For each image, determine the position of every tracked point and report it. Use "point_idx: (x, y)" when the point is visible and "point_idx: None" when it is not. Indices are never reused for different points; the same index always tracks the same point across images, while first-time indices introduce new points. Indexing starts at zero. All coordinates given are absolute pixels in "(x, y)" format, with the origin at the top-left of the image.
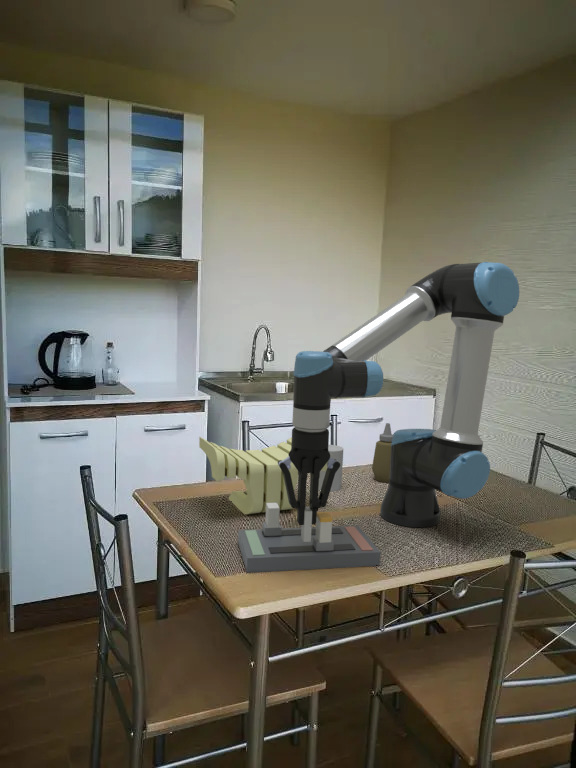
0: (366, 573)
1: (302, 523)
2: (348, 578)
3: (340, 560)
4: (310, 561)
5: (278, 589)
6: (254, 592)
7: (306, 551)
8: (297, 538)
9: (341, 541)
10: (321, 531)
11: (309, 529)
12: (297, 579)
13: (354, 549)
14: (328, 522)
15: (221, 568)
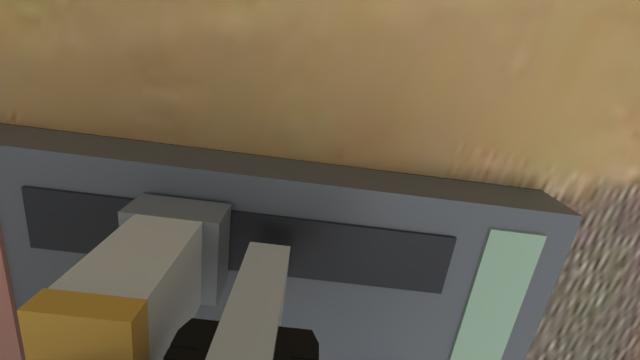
0: (39, 62)
1: (287, 336)
2: (136, 33)
3: (130, 150)
4: (275, 169)
5: (484, 7)
6: (597, 6)
7: (280, 217)
8: None
9: None
10: (168, 256)
11: (246, 287)
12: (365, 82)
13: (27, 187)
14: (80, 289)
15: (615, 245)
